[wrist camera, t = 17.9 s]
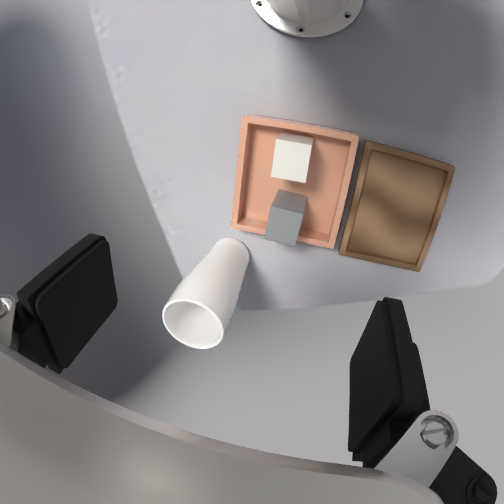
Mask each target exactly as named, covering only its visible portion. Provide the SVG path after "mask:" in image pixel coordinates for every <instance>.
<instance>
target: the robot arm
mask: <svg viewBox="0 0 504 504" xmlns="http://www.w3.org/2000/svg"><path fill="white" fill-rule="evenodd" d="M250 1H251V3H252V5H253V7H254V9H255V10H256V12H257V13H258V14H259V16H260V17H261V18H262V19H263V20H264V21H265V22H266V23H268V24H269V25H270V26H272V27H273V28H275V29H277V30H279V31H281V32H283V33H286V34H289V35H292V36H298V37H309V38H315V37H323V36H327V35H331V34H334V33H336V32H338V31H340V30H342V29H344V28H345V27H347V26H348V25H349V24H351V23H352V22H353V20H354V19H355V18H356V17H357V15H358V13H359V12H360V10H361V7H362V4H363V0H250ZM260 4H263V6H261V7H259V5H260ZM345 15H348V16H349V18H346V17H345ZM299 29H303V32H299ZM17 296H18V299H19V301H18V302H17V303H16V301H15V300H14V298H13V297H11V296H9V295H0V504H495V501H496V497H497V487H496V484H495V482H494V480H493V479H492V477H491V476H490V475H489V474H487V473H486V472H485V471H484V470H483V469H482V468H481V467H479V466H478V465H477V464H476V463H475V462H474V461H473V460H472V459H470V458H469V457H468V456H467V455H466V454H465V453H464V452H462V450H460V449H459V448H458V447H457V446H456V444H457V441H458V430H457V426H456V424H455V423H454V421H453V420H452V419H451V418H450V417H449V416H448V415H447V414H445V413H443V412H441V411H437V410H430V406H429V399H428V394H427V389H426V383H425V379H424V374H423V369H422V364H421V360H420V355H419V351H418V348H417V345H416V344H415V343H413V342H412V337H411V333H410V329H409V325H408V322H407V318H406V314H405V310H404V306H403V303H402V301H401V300H398V299H393V298H388V297H385V298H384V299H383V300H382V301H379V300H378V301H377V302H376V305H375V307H374V309H373V312H372V314H371V316H370V319H369V321H368V323H367V325H366V328H365V330H364V332H363V334H362V336H361V338H360V341H359V343H358V345H357V347H356V349H355V351H354V353H353V355H352V358H351V361H350V404H349V405H350V406H349V437H348V438H349V439H348V451H349V452H353V457H352V461H361V462H363V467H357V466H350V465H343V464H336V463H328V462H320V461H313V460H307V459H301V458H295V457H290V456H284V455H280V454H274V453H269V452H264V451H259V450H255V449H250V448H246V447H242V446H237V445H234V444H230V443H226V442H222V441H219V440H215V439H211V438H208V437H204V436H201V435H198V434H195V433H192V432H188V431H185V430H182V429H179V428H176V427H173V426H170V425H167V424H165V423H162V422H159V421H156V420H154V419H151V418H148V417H145V416H143V415H140V414H138V413H135V412H133V411H131V410H128V409H126V408H123V407H121V406H119V405H116V404H114V403H112V402H109V401H107V400H105V399H103V398H101V397H99V396H96V395H94V394H92V393H90V392H88V391H86V390H84V389H82V388H80V387H78V386H76V385H74V384H72V383H70V382H68V381H66V380H64V379H62V378H61V377H59V376H57V375H55V374H53V373H51V372H50V371H48V370H46V369H45V367H46V365H48V367H49V369H51V370H53V371H55V372H56V373H58V374H60V373H61V372H62V370H63V369H64V368H67V367H68V366H70V364H71V363H72V362H73V360H74V359H75V357H76V356H77V355H78V354H79V353H80V351H81V350H82V349H83V348H84V346H85V345H86V344H87V343H88V341H89V340H90V339H91V338H92V336H93V335H94V334H95V332H96V331H97V330H98V328H100V326H101V325H102V324H103V323H104V322H105V320H106V319H107V318H108V317H109V315H110V314H111V313H112V312H113V311H114V309H115V308H116V306H117V294H116V288H115V282H114V276H113V269H112V263H111V256H110V247H109V243H108V242H107V241H106V239H105V237H104V236H100V235H96V234H88V235H87V236H86V237H84V238H83V239H82V240H80V241H79V242H78V243H76V244H75V245H74V246H73V247H71V248H70V249H69V250H68V251H66V252H65V253H64V254H62V255H61V256H60V257H59V258H57V259H56V260H55V261H54V262H53V263H51V264H50V265H49V266H48V267H46V268H45V269H44V270H43V271H42V272H40V273H39V274H38V275H37V276H36V277H34V278H33V279H32V280H31V281H30V282H29V283H28V284H26V285H25V286H24V287H23V288H22V289H21V290H19V291H18V292H17Z"/></svg>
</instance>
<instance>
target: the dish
mask: <svg viewBox="0 0 504 504" xmlns="http://www.w3.org/2000/svg"><path fill="white" fill-rule="evenodd" d="M283 132H288V133H294V134H299V135H305V136H310V137H314V138H313V144H312V150H311V155H310V161H309V167H308V173H307V178H306V183H302V182H297V181H292V180H286V179H281V178H275V177H271V172H272V165H273V158H274V150H275V143H276V139H277V138H278V137H279V136H280V135H281V134H282V133H283ZM358 141H359V136H358V135H357V134H356V133H353V132H348V131H344V130H339V129H335V128H330V127H325V126H320V125H315V124H310V123H304V122H298V121H293V120H286V119H280V118H273V117H267V116H259V115H252V114H247V115H244V116H242V122H241V131H240V141H239V150H238V160H237V169H236V179H235V189H234V200H233V210H232V221H231V228H232V229H237V230H243V231H248V232H253V233H258V234H263V235H265V230H266V225H267V221H268V216H269V211H270V207H271V204H272V202H273V200H274V198H275V196H276V193H277V191H278V189H281V190H285V191H289V192H293V193H297V194H301V195H305V196H307V197H306V203H305V209H304V214H303V218H302V222H301V226H300V230H299V233H298V237H297V242H302V243H307V244H312V245H316V246H321V247H326V248H331V249H333V248H334V244H335V241H336V237H337V233H338V229H339V225H340V221H341V217H342V213H343V209H344V205H345V200H346V196H347V192H348V188H349V183H350V179H351V174H352V170H353V165H354V160H355V155H356V151H357V146H358Z"/></svg>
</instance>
